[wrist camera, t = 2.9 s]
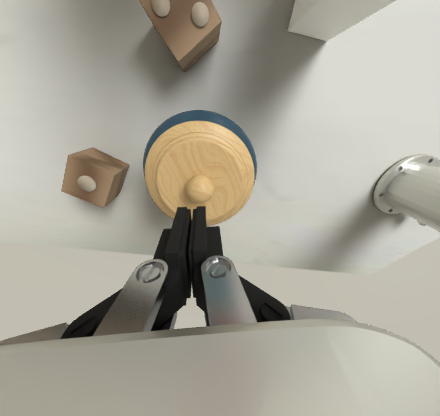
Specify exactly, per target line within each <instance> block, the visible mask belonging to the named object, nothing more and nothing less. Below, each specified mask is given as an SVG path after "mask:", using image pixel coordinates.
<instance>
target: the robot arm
mask: <svg viewBox="0 0 440 416" xmlns="http://www.w3.org/2000/svg"><path fill="white" fill-rule="evenodd" d="M373 199H374V203H375V206H376V207H377V208H378V209H379V210H381V211H383V212H385V213H388V214H399V213H404V214H406V215H408V216H410V217H412V218H414V219H416V220H417V221H418V223H419V224H420V225H423V226H425V225H428V226H430V227H432V228H434V229H435V230H437V231H439V232H440V160H439V159H438V158H436V157H434V156H430V155H425V154H419V155H413V156H410V157H407V158H405V159H403V160H401V161H399V162H398V163H396V164H395V165H393V166H392V167H391V168H390V169H389V170H388V171H387V172H386V173H385V174H384V175H383V176H382V177H381V179H380V180H379V182H378V184H377V186H376V188H375V191H374V196H373ZM191 284H192V289H193V297H194V298H196V303H197V306H199V307H200V308H201V309H202V310H203V311H204V313H205V321H206V327H196V328H184V329H174V325H175V321H176V318H177V311H178V310H179V309H180V308H181V307H182V306H184V305H186V300H187V298H190V296H191ZM0 416H440V362H438V361H437V360H436V359H435V358H434V357H432V356H431V355H430V354H429V353H427V352H426V351H425V350H423V349H422V348H421V347H419V346H418V345H416V344H415V343H413V342H411V341H409V340H408V339H406V338H404V337H401V336H399V335H397V334H395V333H392V332H390V331H387V330H385V329H381V328H378V327H375V326H371V325H368V324H364V323H359V322H357V321H356V320H355V319H353V318H352V317H350V316H349V315H347V314H345V313H342V312H338V311H332V310H324V309H318V308H311V307H304V306H297V305H291V307H286V306H284V305H283V304H282V303H281V302H280V301H278V300H277V299H275V298H273V297H272V296H270V295H269V294H267V293H266V292H264V291H263V290H261V289H260V288H258V287H256V286H255V285H253V284H252V283H250V282H249V281H247V280H245V279H244V278H242V277H240V276H239V275H238V273H237V271H236V268H235V266H234V264H233V262H232V261H231V260H230V259H229V258H227V257H225V256H223V251H222V243H221V236H220V228H219V226H216V227H207V224H206V206H197V208H196V209H193V215H192V218H191V209H187V207H177V210H176V214H175V218H174V221H173V225H172V228H171V229H164V230H163V232H162V235H161V238H160V241H159V244H158V246H157V249H156V252H155V255H154V258H153V259H152V260H148V261H145V262H144V263H141V264H140V265H139V266H138V267H136V269H135V270H134V272H133V273H132V274H131V276H130V277H129V279H128V281H127V282H126V284H125V285H124V287H123V288H122V289H121V290H119V291H118V292H116V293H115V294H113V295H111V296H110V297H108V298H107V299H105V300H104V301H102V302H101V303H99V304H98V305H96V306H95V307H93V308H92V309H90V310H89V311H87V312H86V313H84V314H82V315H81V316H79V317H78V318H77V319H76V320H74V321H73V322H72V323H71V324H70V325H68V324H67V323H62V324H59V325H55V326H52V327H48V328H45V329H41V330H38V331H34V332H30V333H27V334H23V335H19V336H16V337H12V338H9V339H5V340H3V341H0Z"/></svg>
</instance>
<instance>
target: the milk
mask: <svg viewBox="0 0 440 416" xmlns="http://www.w3.org/2000/svg"><path fill="white" fill-rule="evenodd" d="M394 1H396V0H295V3H294V7H293V11H292V15H291V19H290V23H289V27H288V31H289V32H293V33H297V34H301V35H305V36H309V37H313V38H316V39H320V40H324V41H328V40H330V39H331V38H333V37H335V36H336V35H338V34H340V33H341V32H343V31H345V30H347V29H348V28H350V27H352V26H353V25H355V24H357V23H358V22H360V21H362V20H363V19H365V18H367V17H369V16H370V15H372V14H374V13H375V12H377V11H379V10H380V9H382V8H384V7H385V6H387V5H389V4H390V3H392V2H394Z"/></svg>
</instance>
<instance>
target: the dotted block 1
mask: <svg viewBox="0 0 440 416" xmlns="http://www.w3.org/2000/svg"><path fill="white" fill-rule="evenodd" d="M128 168H129V164H126V163H124V162H122V161H120V160H118V159H116V158H114V157H112V156H110V155H108V154H105V153H103V152H101V151H99V150H97V149H95V148H89V149H86V150H83V151H80V152H77V153H73V154H70V155H68V159H67V164H66V169H65V174H64V180H63V185H62V190H61V191H62V192H65V193H67V194H70V195H72V196H75V197H77V198H80V199H83V200H85V201H88V202H90V203H93V204H95V205H98V206H101V207H103V208H104V207H105V206H106V205H107V204H109V203H110V202H111V201H112V200H113V199H114V198H115V197H116V196H117V195H118V194H119V193H120V191H121V188H122V185H123V182H124V179H125V177H126V174H127V171H128Z"/></svg>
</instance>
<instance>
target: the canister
mask: <svg viewBox="0 0 440 416" xmlns="http://www.w3.org/2000/svg"><path fill="white" fill-rule="evenodd" d="M143 168H144V175H145V181H146V185H147V188H148V191H149V193H150V196H151V197H152V199H153V201H154V202H155V203H156V205H157V206H158V207H159V208H160V209H161V210H162V211H163V212H164V213H165V214H167V215H168V216H169V217H171V218H173V219H174V218H175V214H176V210H177V207H187V209H191V218H192V215H193V209H196V208H197V206H206V224H207V226H209V225H214V224H218V223H221V222H223V221H226V220H227V219H229V218H231V217H232V216H234V215H235V214H236V213H238V212H239V211H240V210H241V209H242V207H243V206H244V205H245V204H246V202H247V200H248V199H249V197H250V195H251V192H252V189H253V186H254V183H255V179H256V172H257V162H256V156H255V152H254V149H253V146H252V144H251V142H250V140H249V138H248V137H247V135H246V134H245V133H244V131H243V130H242V129H241V128H240V127H239V126H238V125H237V124H235V123H234V122H233V121H231V120H230V119H228V118H227V117H225V116H223V115H220V114H218V113H214V112H210V111H203V110H193V111H186V112H182V113H179V114H177V115H174V116H172V117H171V118H169V119H167V120H166V121H164V122H163V123H162V124H161V125H160V126H159V127H158V128H157V129H156V130H155V131H154V133H153V134H152V136H151V137H150V139H149V141H148V143H147V146H146V149H145V153H144V159H143Z"/></svg>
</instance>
